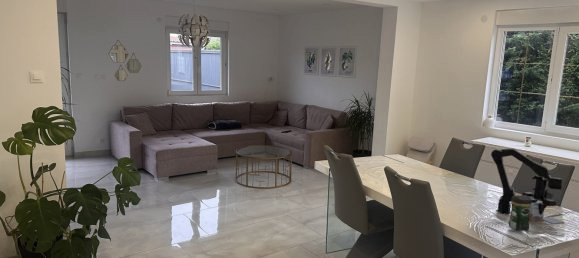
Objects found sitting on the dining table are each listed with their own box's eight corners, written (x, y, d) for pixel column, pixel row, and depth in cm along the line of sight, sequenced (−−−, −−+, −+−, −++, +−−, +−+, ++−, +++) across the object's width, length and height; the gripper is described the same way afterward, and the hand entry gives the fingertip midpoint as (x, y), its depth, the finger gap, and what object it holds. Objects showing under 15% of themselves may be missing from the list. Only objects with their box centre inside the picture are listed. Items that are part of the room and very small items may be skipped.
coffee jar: (520, 225, 230) (524, 193, 228) (531, 231, 223) (535, 197, 220) (505, 226, 229) (508, 193, 226) (515, 231, 221) (519, 197, 218)
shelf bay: (530, 221, 238) (530, 214, 237) (518, 216, 246) (519, 209, 245) (543, 220, 240) (544, 212, 240) (531, 215, 248) (531, 208, 248)
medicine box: (532, 219, 241) (533, 204, 240) (526, 216, 245) (527, 202, 244) (543, 218, 243) (545, 204, 242) (537, 215, 247) (539, 201, 246)
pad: (552, 224, 235) (552, 223, 235) (540, 219, 242) (540, 218, 242) (564, 222, 237) (564, 222, 237) (552, 218, 245) (552, 217, 245)
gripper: (565, 191, 235) (561, 217, 237) (537, 182, 253) (534, 207, 255) (550, 192, 232) (546, 218, 234) (522, 183, 250) (519, 208, 252)
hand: (536, 213), depth 244 cm, fingers closed on medicine box, 4 cm apart
